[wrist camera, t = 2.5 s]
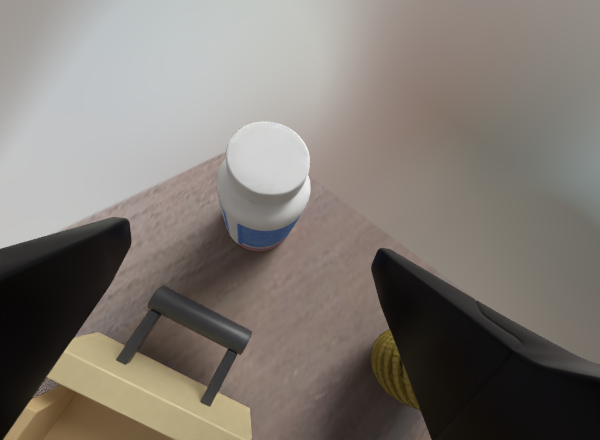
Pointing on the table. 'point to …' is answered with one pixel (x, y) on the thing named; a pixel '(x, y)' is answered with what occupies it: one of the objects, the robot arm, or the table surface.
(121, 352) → the drawer
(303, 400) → the table surface
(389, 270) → the robot arm
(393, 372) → the sculpture
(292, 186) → the pill bottle
